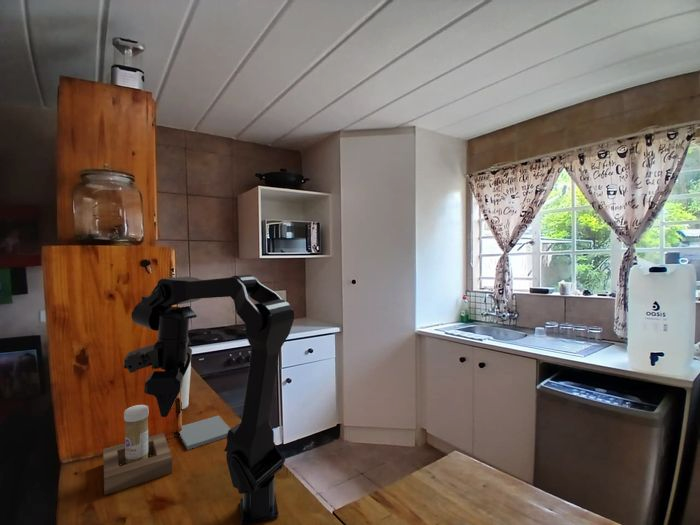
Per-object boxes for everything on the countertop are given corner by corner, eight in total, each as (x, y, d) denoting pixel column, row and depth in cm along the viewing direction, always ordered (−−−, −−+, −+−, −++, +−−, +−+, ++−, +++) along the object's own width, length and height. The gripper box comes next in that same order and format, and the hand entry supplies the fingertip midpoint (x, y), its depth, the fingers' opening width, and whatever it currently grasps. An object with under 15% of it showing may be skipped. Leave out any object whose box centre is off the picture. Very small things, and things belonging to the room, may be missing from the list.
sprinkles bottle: (119, 473, 75) (118, 412, 75) (136, 461, 80) (135, 403, 79) (138, 476, 74) (137, 414, 74) (154, 463, 79) (153, 405, 78)
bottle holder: (172, 472, 76) (172, 457, 75) (104, 495, 69) (104, 477, 68) (163, 446, 85) (163, 432, 85) (103, 464, 78) (103, 448, 78)
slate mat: (232, 435, 91) (232, 431, 91) (187, 450, 84) (187, 446, 84) (218, 418, 99) (218, 415, 99) (176, 431, 93) (176, 427, 93)
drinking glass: (181, 413, 102) (180, 363, 102) (161, 411, 104) (160, 361, 103) (195, 403, 109) (195, 356, 108) (176, 401, 110) (176, 354, 110)
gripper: (141, 322, 81) (138, 386, 82) (115, 351, 63) (110, 433, 65) (194, 323, 84) (189, 385, 86) (182, 351, 67) (177, 428, 68)
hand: (168, 405), depth 76 cm, fingers open, 9 cm apart
